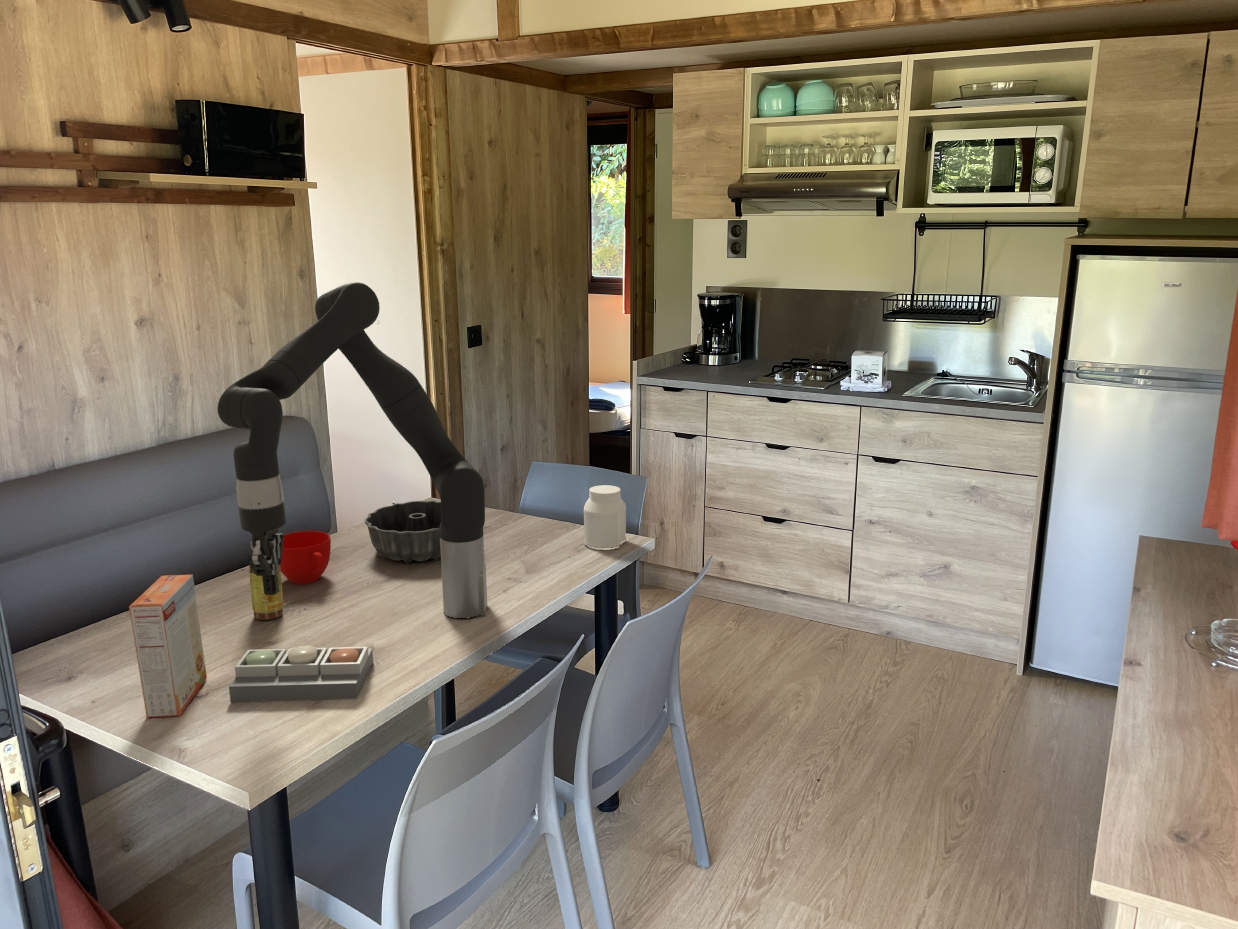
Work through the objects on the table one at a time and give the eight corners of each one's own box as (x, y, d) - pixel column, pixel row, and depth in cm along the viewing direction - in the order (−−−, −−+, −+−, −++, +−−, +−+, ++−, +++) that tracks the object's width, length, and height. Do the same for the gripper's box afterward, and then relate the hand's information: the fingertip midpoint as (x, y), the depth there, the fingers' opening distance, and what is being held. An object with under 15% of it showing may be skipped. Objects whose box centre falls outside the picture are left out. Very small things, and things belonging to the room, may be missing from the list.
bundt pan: (423, 576, 220) (421, 537, 218) (344, 558, 233) (341, 520, 231) (491, 545, 242) (489, 509, 240) (416, 529, 255) (413, 495, 253)
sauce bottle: (273, 622, 194) (265, 533, 189) (247, 620, 195) (237, 531, 190) (290, 610, 200) (282, 524, 195) (264, 608, 201) (256, 522, 196)
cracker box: (174, 680, 169) (160, 574, 164) (208, 679, 169) (195, 573, 164) (142, 719, 155) (126, 604, 150) (179, 717, 156) (164, 603, 151)
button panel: (373, 662, 176) (371, 638, 175) (357, 698, 162) (355, 672, 161) (256, 665, 175) (254, 641, 173) (230, 702, 161) (227, 676, 160)
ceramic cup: (296, 598, 207) (292, 556, 204) (267, 578, 219) (263, 538, 217) (350, 584, 215) (347, 544, 213) (319, 565, 227) (316, 527, 225)
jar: (596, 535, 250) (595, 482, 246) (629, 538, 247) (629, 485, 243) (580, 548, 240) (579, 493, 236) (614, 552, 236) (614, 496, 233)
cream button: (320, 652, 170) (319, 645, 169) (313, 665, 165) (312, 657, 165) (293, 653, 170) (292, 645, 169) (285, 665, 165) (284, 658, 164)
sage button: (279, 657, 170) (278, 649, 169) (271, 669, 165) (270, 662, 164) (252, 658, 169) (251, 650, 169) (242, 670, 164) (242, 663, 164)
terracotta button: (361, 655, 170) (361, 647, 170) (355, 667, 166) (355, 660, 165) (334, 656, 170) (333, 648, 170) (327, 668, 165) (326, 660, 165)
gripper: (270, 511, 154) (281, 607, 158) (293, 489, 166) (303, 579, 171) (225, 513, 153) (237, 608, 158) (251, 491, 166) (262, 580, 170)
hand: (271, 593), depth 164 cm, fingers closed
